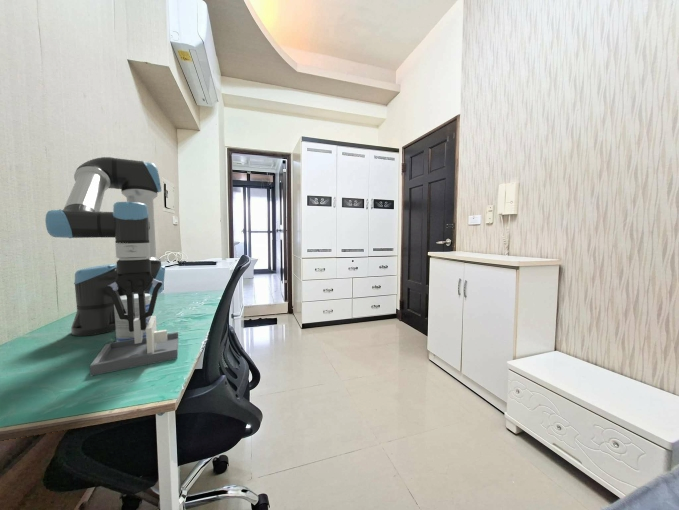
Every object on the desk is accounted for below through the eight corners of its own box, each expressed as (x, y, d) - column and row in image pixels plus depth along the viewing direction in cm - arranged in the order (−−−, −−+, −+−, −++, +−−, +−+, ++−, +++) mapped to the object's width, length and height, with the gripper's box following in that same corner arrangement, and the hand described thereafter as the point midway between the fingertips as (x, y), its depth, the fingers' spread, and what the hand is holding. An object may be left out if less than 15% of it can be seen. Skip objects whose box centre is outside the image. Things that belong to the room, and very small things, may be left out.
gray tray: (107, 351, 78) (106, 343, 78) (178, 339, 87) (178, 331, 87) (90, 375, 65) (89, 365, 64) (177, 358, 74) (176, 349, 73)
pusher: (152, 341, 83) (151, 316, 82) (168, 338, 85) (167, 313, 84) (147, 358, 71) (145, 328, 71) (166, 354, 73) (164, 326, 73)
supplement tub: (153, 342, 85) (150, 296, 84) (114, 349, 80) (111, 301, 79) (153, 333, 93) (151, 291, 92) (118, 339, 88) (116, 295, 87)
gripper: (99, 260, 67) (105, 351, 69) (160, 258, 74) (165, 341, 75) (107, 258, 74) (112, 341, 76) (163, 256, 80) (166, 333, 82)
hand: (138, 341), depth 75 cm, fingers closed
